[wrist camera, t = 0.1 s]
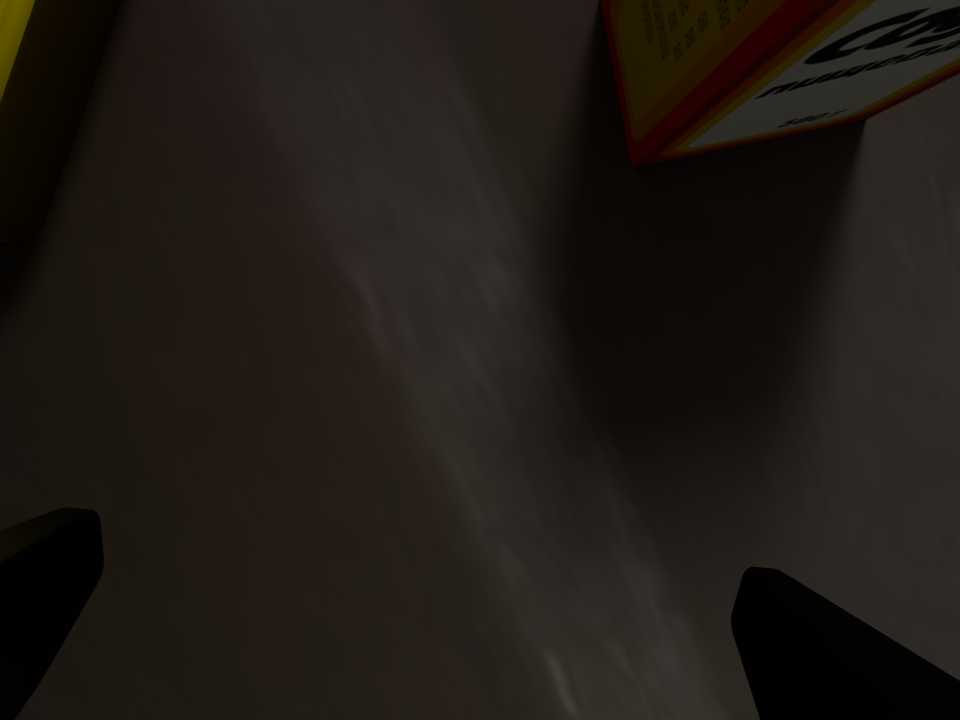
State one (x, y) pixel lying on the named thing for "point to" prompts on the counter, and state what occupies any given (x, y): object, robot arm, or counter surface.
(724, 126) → the baking soda box
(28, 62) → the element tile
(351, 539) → the counter surface
